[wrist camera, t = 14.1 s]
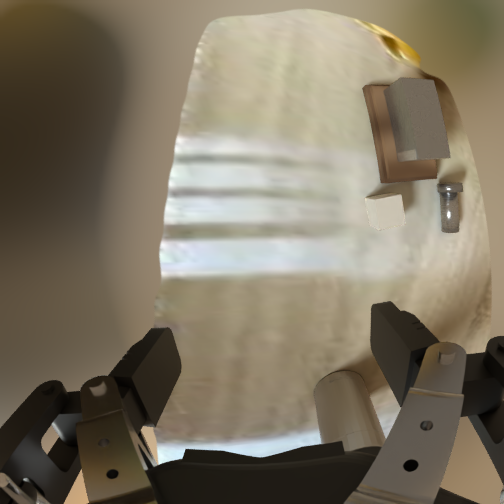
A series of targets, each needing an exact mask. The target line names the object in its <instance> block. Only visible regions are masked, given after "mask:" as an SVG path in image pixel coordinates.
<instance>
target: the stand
mask: <svg viewBox="0 0 504 504" xmlns="http://www.w3.org/2000/svg"><path fill="white" fill-rule="evenodd" d="M389 86H390V85H365V86H364V87H363V92H364V96H365V100H366V105H367V109H368V113H369V118H370V122H371V127H372V132H373V137H374V143H375V148H376V154H377V160H378V166H379V173H380V180H381V183H392V182H402V181H413V180H425V179H437V167H436V160H435V159H434V160H419V161H402V162H399V161H398V159H397V153H396V147H395V142H394V136H393V131H392V126H391V122H390V117H389V113H388V108H387V104H386V100H385V96H384V92H383V91H384V90H385V89H386V88H388V87H389Z"/></svg>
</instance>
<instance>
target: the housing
mask: <svg viewBox="0 0 504 504" xmlns="http://www.w3.org/2000/svg"><path fill="white" fill-rule="evenodd" d="M383 92H384V96H385V100H386V104H387V108H388V113H389V117H390V122H391V126H392V131H393V136H394V142H395V147H396V153H397V159H398V161H399V162H402V161H419V160H434V159H446V158H450V151H449V145H448V139H447V134H446V129H445V124H444V119H443V115H442V110H441V106H440V102H439V98H438V94H437V91H436V87H435V84H434V80H427V79H415V78H399V79H398V80H397V81H395V82H394V83H393V84H392V85H390V86H389V87H388V88H386V89H385V90H384V91H383Z"/></svg>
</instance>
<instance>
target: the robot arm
mask: <svg viewBox="0 0 504 504" xmlns="http://www.w3.org/2000/svg"><path fill="white" fill-rule="evenodd" d="M370 343H371V349H372V353H373V355H374V357H375V359H376V361H377V363H378V364H379V366H380V368H381V370H382V372H383V374H384V376H385V378H386V380H387V382H388V383H389V385H390V387H391V389H392V391H393V393H394V395H395V397H396V399H397V401H398V403H399V405H400V407H402V408H401V410H400V412H399V414H398V416H397V419H396V421H395V423H394V425H393V427H392V429H391V431H390V433H389V435H388V437H387V439H386V438H385V436H384V433H383V430H382V427H381V425H380V422H379V419H378V417H377V414H376V411H375V409H374V406H373V404H372V401H371V398H370V396H369V393H368V390H367V388H366V385H365V383H364V381H363V379H362V377H361V376H360V375H359V374H357V373H355V372H352V371H339V372H335V373H332V374H330V375H328V376H326V377H325V378H323V379H322V380H321V381H320V382H319V383H318V384H317V386H316V388H315V391H314V398H315V405H316V412H317V418H318V425H319V431H320V438H321V444H319V445H312V446H304V447H300V448H297V449H293V450H290V451H286V452H283V453H279V454H275V455H271V456H267V457H261V458H259V457H252V456H246V455H241V454H236V453H231V452H226V451H217V450H195V449H186V450H185V453H184V456H183V459H179V460H174V461H169V462H166V463H162V464H160V465H157V463H156V461H155V459H154V457H153V455H152V453H151V451H150V448H149V446H148V444H147V442H146V440H145V437H144V435H143V434H142V432H141V429H142V427H143V426H147V427H156V425H157V423H158V420H159V418H160V416H161V414H162V412H163V410H164V408H165V405H166V403H167V401H168V399H169V397H170V395H171V393H172V390H173V388H174V386H175V384H176V382H177V380H178V378H179V376H180V373H181V359H180V356H179V353H178V350H177V346H176V343H175V340H174V336H173V333H172V331H171V329H170V328H168V327H167V328H151V329H150V330H149V332H148V333H147V334H146V335H145V337H144V338H143V339H142V340H140V341H139V342H137V343H136V344H134V345H133V346H132V347H131V348H130V349H129V350H128V351H127V354H125V355H124V356H123V358H122V360H120V361H119V363H118V364H117V365H116V367H114V369H113V370H112V371H111V372H110V374H109V375H108V376H105V375H102V376H97V377H94V378H91V379H89V380H88V381H86V382H85V383H84V384H83V385H82V387H81V389H80V391H74V392H67V391H66V389H65V388H64V386H63V384H62V382H60V381H57V380H51V381H47V382H44V383H43V384H41V385H39V386H38V387H37V388H36V389H35V390H34V391H33V392H32V393H31V394H30V395H29V396H28V398H27V399H26V400H25V401H24V402H23V403H22V404H21V405H20V406H19V407H18V409H17V410H16V411H15V412H14V413H13V414H12V415H11V417H10V418H9V419H8V420H7V421H6V422H5V423H4V425H3V426H2V427H1V428H0V504H64V502H65V500H66V497H67V496H68V494H69V492H70V490H71V488H72V486H73V484H74V482H75V480H76V478H77V476H78V474H79V472H80V470H81V469H82V473H83V478H84V483H85V487H86V492H87V496H88V500H89V503H88V504H479V503H476V502H474V501H471V500H469V499H466V498H464V497H461V496H459V495H457V494H454V493H452V492H450V491H447V490H445V489H443V488H441V487H440V485H441V482H442V479H443V476H444V474H445V471H446V467H447V465H448V462H449V458H450V455H451V452H452V448H453V445H454V441H455V437H456V433H457V429H458V425H459V420H460V417H464V416H468V418H469V419H470V421H471V423H472V425H473V426H474V428H475V430H476V432H477V433H478V435H479V437H480V439H481V441H482V443H483V445H484V446H485V448H486V450H487V452H488V454H489V456H490V458H491V460H492V462H493V464H494V466H495V468H496V470H497V472H498V474H499V476H500V478H501V480H502V483H503V485H504V336H497V337H494V338H492V339H490V340H489V341H488V343H487V347H486V350H485V352H483V353H475V354H466V351H465V350H464V349H463V348H462V347H461V346H459V345H457V344H455V343H451V342H440V341H439V340H438V339H437V338H436V337H435V336H434V335H433V334H432V333H431V332H430V331H429V330H428V329H427V328H425V326H424V324H423V323H422V322H421V323H420V320H419V319H418V318H417V317H416V316H415V315H413V314H411V313H409V312H407V311H400V310H399V309H398V308H397V307H396V306H395V305H394V304H393V303H392V302H391V301H388V302H383V303H377V304H373V305H372V308H371V336H370ZM51 425H52V427H53V428H54V430H55V431H56V433H57V434H58V435H59V438H58V439H57V441H56V442H55V444H54V445H53V447H52V448H51V450H50V451H49V453H48V454H46V453H45V452H44V450H43V449H42V446H41V439H42V437H43V435H44V434H45V433H46V431H47V430H48V428H49V427H50V426H51ZM500 502H501V503H500V504H504V487H503V489H502V491H501V495H500Z"/></svg>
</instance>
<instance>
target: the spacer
mask: <svg viewBox="0 0 504 504" xmlns="http://www.w3.org/2000/svg"><path fill="white" fill-rule="evenodd" d="M365 202H366V207H367V213H368V219H369V225H370V226H371V227H373V228H375V229H377V230H384V229H388V228H393V227H397V226H401V225H406V224H405V216H404V209H403V202H402V196H401V194H394V193H387V194H382V195H377V196H372V197H366V198H365Z"/></svg>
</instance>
